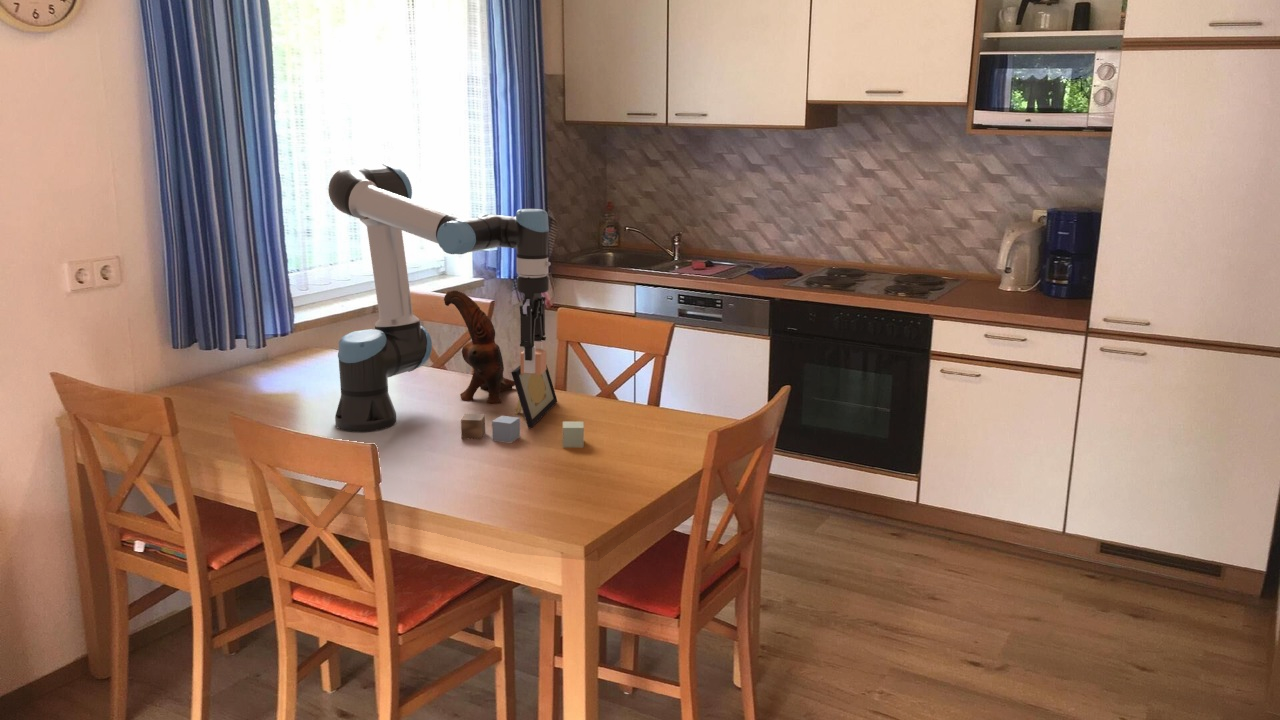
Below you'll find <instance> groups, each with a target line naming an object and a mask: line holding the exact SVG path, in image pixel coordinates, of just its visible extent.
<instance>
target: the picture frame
mask: <svg viewBox="0 0 1280 720" xmlns="http://www.w3.org/2000/svg"><path fill="white" fill-rule="evenodd" d="M546 365H547V370H545V371H544V372H543V373H542V374H541V375H537V374H522V373H521V364H520V365H518V366H517V367H516V368H515V369H514V370H512V371H511V372H510V374H511V375H512V379H513V380H512V381H514V383H515V386H514V387H515V389H516V392H517V396H518V402H517V404H516V408H515V410H514V412H515V414H516V415H519V413H520V411H521V410H522V413H523V416H524V419H525V423H526V425H527V428H528V429H530V428H533V427H534V426H535V425H536V424H537V422H539V421H540V419H542V418H543V417H544V416H545V415H546V414H547V413H548V412H549V411H550V409H552V408H553V407H554V406H555V405H556V404H557V403H558V399H557V395H556V392H555V387H554V386H553V381H552V378H551V375H550V371H549V368H548V364H547V363H546Z"/></svg>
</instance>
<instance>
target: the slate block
mask: <svg viewBox="0 0 1280 720" xmlns="http://www.w3.org/2000/svg"><path fill="white" fill-rule="evenodd" d="M520 419H521V418H520V417H517V416H510V415H509V416H508V415H507V416H506V415H500V416H499V417H497V418H495V419H493V420H492V421H491V426H492V427H491V428H492V429H491V431H492V432H491V433H492V434H491V435H492V437H491V439H492V441H495V442H501V443H502V442H503V443H508V444H509V443H510V444H512V443H513V442H514V441H516V440H517V439H519V438H520V437H521V422H520V421H521V420H520Z"/></svg>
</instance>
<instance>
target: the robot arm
mask: <svg viewBox="0 0 1280 720" xmlns="http://www.w3.org/2000/svg"><path fill="white" fill-rule="evenodd" d="M327 192H328V197H329V199H330V202H331V203H332V205H333V206H334V207H335V208H336V209H337V210H338V211H339V212H341V213H343V214H346V215H349V216H350V217H353V218H356V219H358V220H359V221H360V222H361V223H362V224H364V225H365V226H366V228H367V229H366V231H367V237H368V238H367V239H368V244H369V251H370V252H369V253H370V258H371V260H370V261H371V264H372V265H371V267H372V271H373V272H372V274H373V280H374V287H375V293H376V301H377V308H378V317H379V318H378V319H377V321H375V323H374V328H372V329H371V328H367V329H363V330H360V329H358V330H355V331H352V332H349V333H346V334H345V335H343V336H342V337H341V338H340V339H339V341H338V352H337V359H338V368H339V370H338V371H339V381H340V384H339V385H340V398H339V402H338V404H337V409H336V411H335V417H334V419H335V420H334V421H335V426H336V428H337V427H338V428H337V429H339V430H342V431H347V432H352V433H353V432H358V433H359V432H360V433H362V432H376V431H380V430H381V431H382V430H385V429H388V428H390V427H392V426H394V425H395V424H396V423H397V411H396V409H395V407H394V404H393V401H392V399H391V396H390V394H389V383H388V382H389V381H388V378H391V377H395V376H397V375H400V374H404V373H406V372H412V371H415V370H417V369H418V368H421V367H423V366H424V365H425V364H427V361H428V360H429V359H430V357H431V354H432V350H433V342H432V337H431V335H430V333H429V332H427V328H425V327H424V326H422V325H421V321H420V318H419V317H417V316H416V315H415V314H414V313H413V305H412V297H411V289H410V284H409V283H410V282H409V275H408V266H407V262H406V261H407V260H406V253H405V245H404V238H403V231H404V232H406V233H409V234H411V235H415V236H417V237H419V238H422V239H425V240H426V241H430V242H433V243H435V244H438V246H439V247H440V248H441V249H442V251H443V253H444V252H445V253H446V254H449V255H464V254H467V253H472V252H477V251H481V250H482V251H483V250H488V249H494V248H508V249H509V248H510V249H516V274H518V275H517V276H516V290H517V292H519V293H522V294H524V296H523V299H522V305H521V304H520V305H519V313H520V318H519V319H520V343H519V346H520V348H521V347H523V351H524V373H536V349H543V341H546V340H547V337H546V296H545V295H542V294H545V293H547V292H548V291H549V279H550V278H549V276H548V275H547V274H549V267H550V266H551V262H550V261H549V233H550V232H549V231H550V227H549V215H548V212H547V211H546V210H544V209H540V208H521V209H517V211H516V214H515V216H512V215H511V216H510V215H502V214H501V215H500V214H495V213H481V214H479V215H477V216H476V217H474V218H473V217H472V218H463V217H461V216H459V215H454V214H453V213H449V212H447V211H445V210H442V209H438V208H435V207H433V206H430V205H427V204H424V203H421V202H419V201H416V200H413V199H412V197H413V196H412V195H413V189H412V184H411V181H410V179H409V177H408V176H407V174H406V173H405V172H404V171H403V170H402V169H401V168H400V167H398V166H396V165H394V164H384V163H383V164H382V163H378V164H368V165H367V164H365V165H352V166H351V165H349V166H345V167H342V168H341V169H338V170H337V171H335V173H334V174H333V175H332V177H331V178H330V181H329V183H328V191H327Z"/></svg>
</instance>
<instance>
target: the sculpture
mask: <svg viewBox="0 0 1280 720" xmlns="http://www.w3.org/2000/svg"><path fill="white" fill-rule="evenodd" d="M443 301H444V305H445V306H446V307H449V306H450V305H451V304H452V305H454V306H455V307H456V308H455V309H457V311H458V312H459V313H460V315H461V317H462V319H463V321H464V323H465V325H466V327H467V330H468V334H469V336H470V339H471V341H468V342H466V343H464V345H463V346H462V349H461V355H462V358H463V361H464V362H465V363H466V364H468V365H469V366H470V367H471V368H472V369H473V372H472V373H473V374H472V376H471V380H470V383H469V384H468V386H467V388H466V389H465V390H464V391H462V392H461V393H460V394H459V395H460V399H462V400H463V401H464V402H465V401H466V402H472V401H474V397H475V396H474V395H475V394H476V392H477V390H478V389H479V388H480V389H482V390H488V397H487V400H486V404H490V405H499V404H501V403H502V401H501V392H503V391H507V390H512V389H513V387H515V383H514V380H512V379H509V378H506V377H504V371H505V367H504V361H503V360H504V359H503V355H502V351H501V349H500V346H499V345H498V344H497V343H496V341H495V340H496V339H495V338H496V330H495V326H494V325H493V322H492V320H491V319H490V318H489V316H488V315H487V314H486V313H485V312H484V310H482V309H481V308H480V306H479V305H478V303H477V302H476V301H474V300H473V299H472V298H471V297H469V296H468V295H467V294H466V293H464V292H463V291H459V290H450V291H447V292H446V294H445V295H444V297H443Z"/></svg>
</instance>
